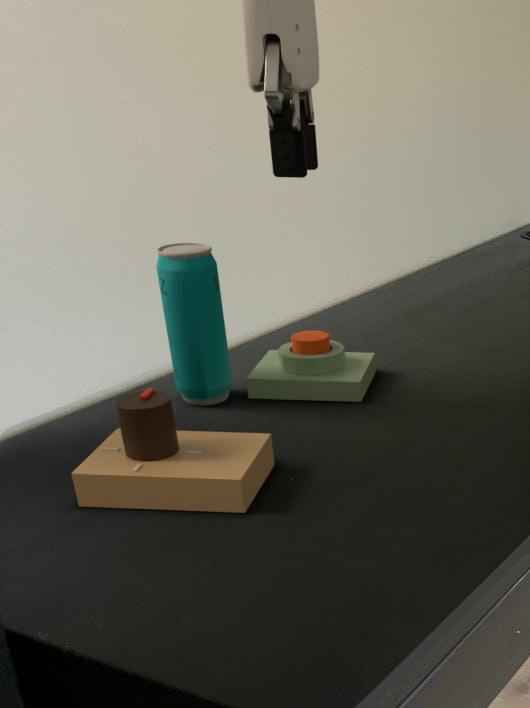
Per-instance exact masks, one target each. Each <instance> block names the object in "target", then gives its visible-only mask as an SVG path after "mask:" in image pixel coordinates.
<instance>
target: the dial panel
mask: <svg viewBox="0 0 530 708" xmlns="http://www.w3.org/2000/svg"><path fill="white" fill-rule="evenodd" d="M176 432H177V438H178V444H179V450H178V452H177V453H176V454H174V455H173V456H170V457H168V458H165V459H160V460H154V461H138V460H133V459H130V458H128V457H127V456H126V454H125V449H124V444H123V439H122V434H121V429H120V428H116V429H115V430H114V431H113V432H112V433H111V434H110V435H109V436H108V437H107V438H106V439H105V440H104V441H103V442H102V443H101V444H100V445H99V446H98V447H96V449H94V450H93V452H92V453H90V454H89V456H88V457H86V458H85V459H84V460H83V461H82V462H81V464H79V465H78V466H77V467H76V468H75V469H74V470H73V471H72V472H71V479H72V482H73V487H74V490H75V494H76V495H75V496H76V499H77V504H78V507H83V508H105V509H106V508H107V509H130V510H131V509H133V510H158V511H159V510H160V511H161V510H162V511H181V512H182V511H185V512H212V513H215V512H216V513H238V514H244V513H247V511H248V509H249V507H250V506H251V504H252V503H253V501H254V499H255V498H256V496H257V494H258V493H259V491H260V490H261V488H262V486H263V485H264V483H265V482H266V480H267V478H268V477H269V474H270V473H271V472H272V470H273V469H274V467H275V457H274V447H273V439H272V433H264V432H263V433H261V432H233V431H232V432H231V431H229V432H228V431H203V430H202V431H199V430H176Z"/></svg>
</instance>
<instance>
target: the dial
mask: <svg viewBox="0 0 530 708" xmlns="http://www.w3.org/2000/svg"><path fill="white" fill-rule="evenodd" d="M114 404H115V409H116V414H117V418H118V424H119V429H121V434H122V439H123V444H124V449H125V454H126V456H127V457H128V458H130V459H133V460H138V461H154V460H160V459H165V458H168V457H170V456H173V455H174V454H176V453H177V452H178V450H179V444H178V438H177V432H176V431H177V427H176V426H177V425H176V421H175V415H174V410H173V402H172V397H171V395H169V394H168V393H166V392H163V391H158V390H156V389H155V387H147V388H146V389H145V390H144V391H134V392H131V393H127V394H124V395H121V396H119V397H118V398H117V399H116V400H115V403H114Z"/></svg>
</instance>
